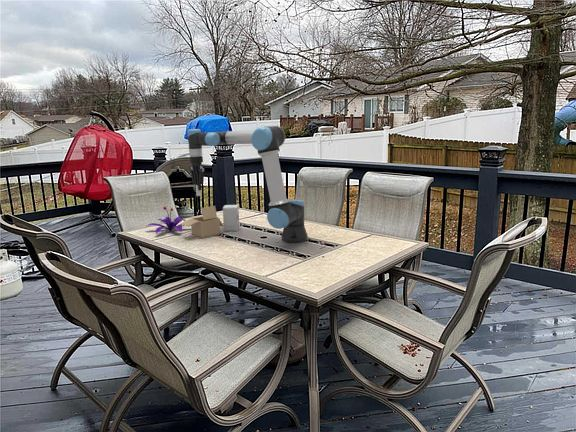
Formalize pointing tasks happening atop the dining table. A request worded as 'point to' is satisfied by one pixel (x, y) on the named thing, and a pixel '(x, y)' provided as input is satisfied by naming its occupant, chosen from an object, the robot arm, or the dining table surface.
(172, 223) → the decorative flower
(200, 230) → the carton
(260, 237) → the dining table surface
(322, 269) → the dining table surface
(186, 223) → the flap left
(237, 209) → the supplement box
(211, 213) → the flap near
